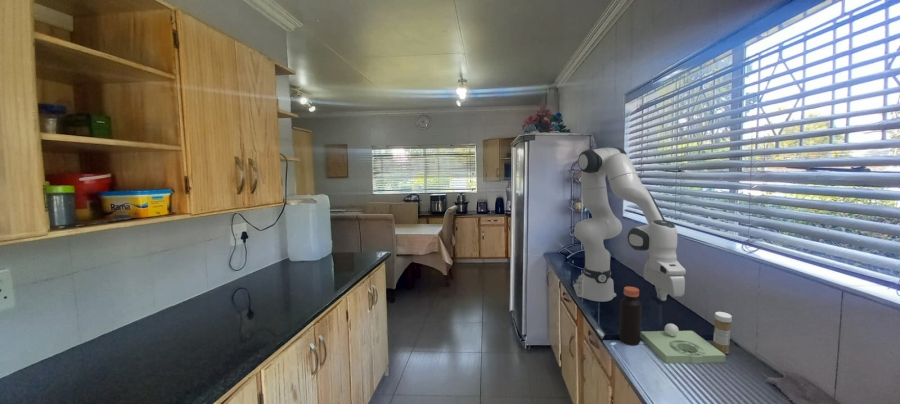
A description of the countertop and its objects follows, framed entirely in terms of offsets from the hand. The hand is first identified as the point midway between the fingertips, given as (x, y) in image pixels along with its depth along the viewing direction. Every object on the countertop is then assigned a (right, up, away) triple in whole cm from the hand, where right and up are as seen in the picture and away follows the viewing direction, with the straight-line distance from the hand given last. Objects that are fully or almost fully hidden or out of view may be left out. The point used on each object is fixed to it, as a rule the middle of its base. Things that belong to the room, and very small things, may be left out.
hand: (661, 299), depth 129 cm
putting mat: (0, -15, -10) cm, 18 cm away
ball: (0, -9, -6) cm, 11 cm away
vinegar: (-14, -15, -4) cm, 21 cm away
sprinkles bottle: (+13, -15, -12) cm, 23 cm away
